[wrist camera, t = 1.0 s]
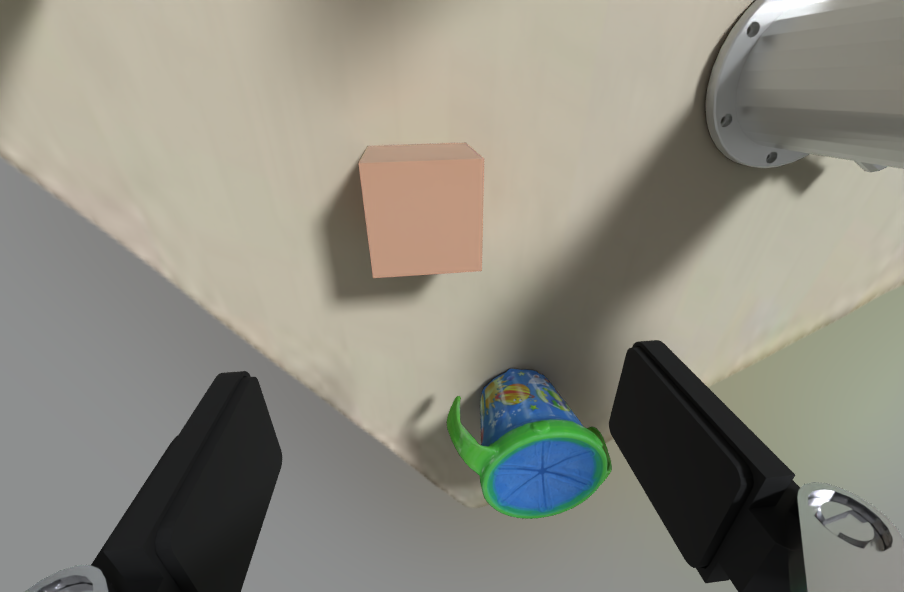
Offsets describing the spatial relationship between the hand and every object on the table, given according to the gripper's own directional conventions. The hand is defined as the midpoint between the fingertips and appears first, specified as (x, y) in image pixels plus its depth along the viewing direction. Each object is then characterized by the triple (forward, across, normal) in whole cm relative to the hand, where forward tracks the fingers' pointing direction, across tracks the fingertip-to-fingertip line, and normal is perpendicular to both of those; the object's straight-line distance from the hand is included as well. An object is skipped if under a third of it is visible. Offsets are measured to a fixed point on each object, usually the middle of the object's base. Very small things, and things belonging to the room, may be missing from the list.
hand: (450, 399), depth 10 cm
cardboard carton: (+22, 0, 0) cm, 22 cm away
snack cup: (+22, -9, +21) cm, 32 cm away
